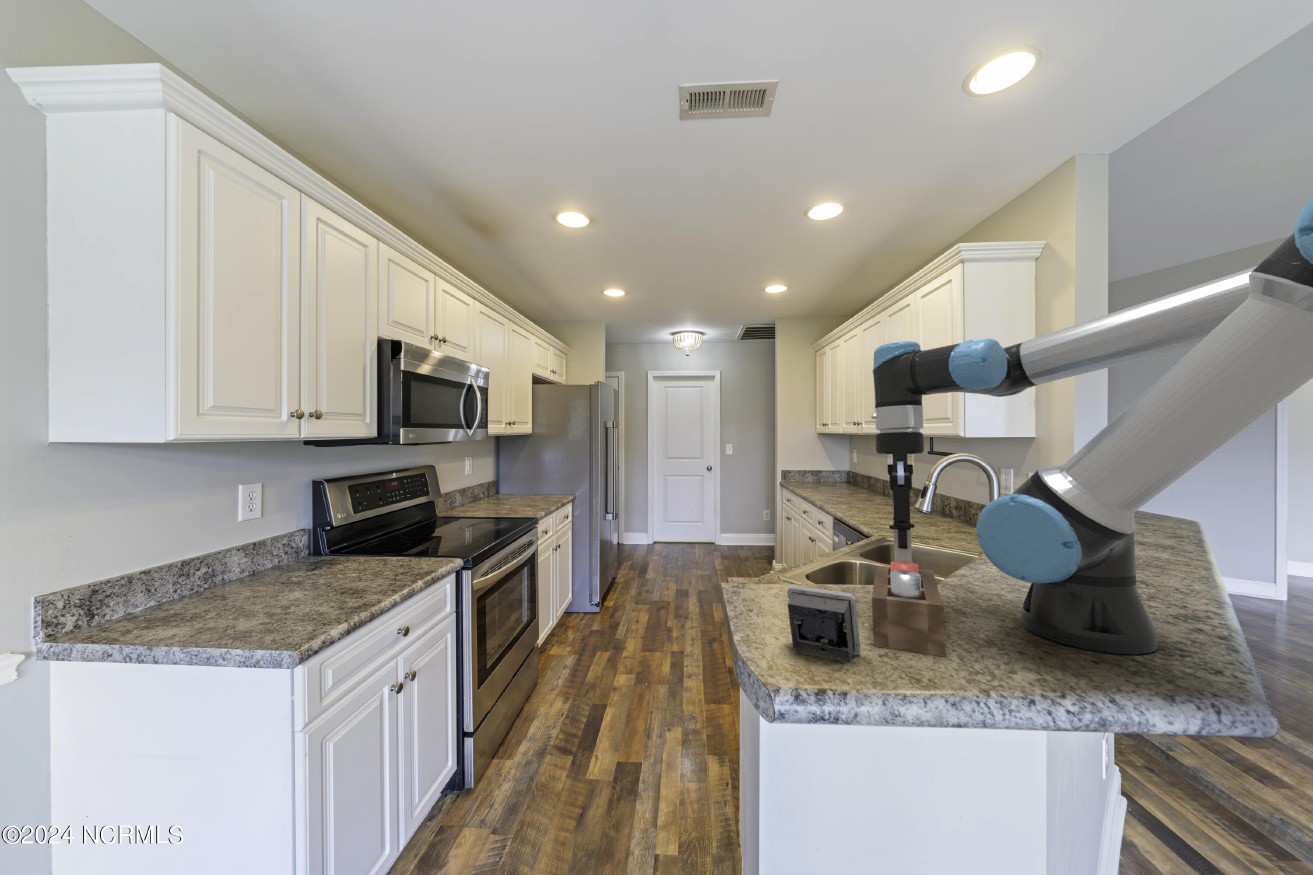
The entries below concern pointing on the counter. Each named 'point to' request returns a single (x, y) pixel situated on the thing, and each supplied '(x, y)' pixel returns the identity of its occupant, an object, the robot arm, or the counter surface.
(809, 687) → the counter surface
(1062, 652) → the counter surface
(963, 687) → the counter surface
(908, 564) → the red plug
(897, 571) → the metal plug
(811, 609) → the electrical switch
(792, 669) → the counter surface
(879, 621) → the brown wooden box
